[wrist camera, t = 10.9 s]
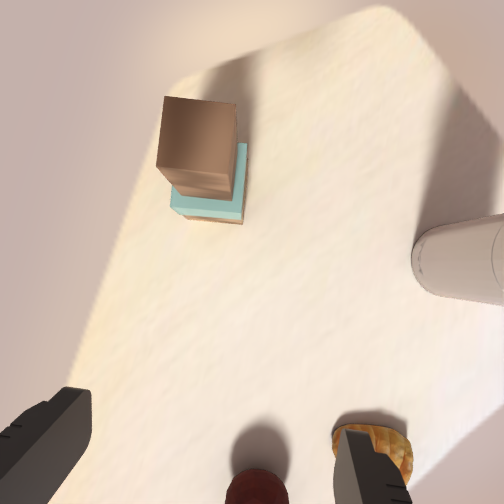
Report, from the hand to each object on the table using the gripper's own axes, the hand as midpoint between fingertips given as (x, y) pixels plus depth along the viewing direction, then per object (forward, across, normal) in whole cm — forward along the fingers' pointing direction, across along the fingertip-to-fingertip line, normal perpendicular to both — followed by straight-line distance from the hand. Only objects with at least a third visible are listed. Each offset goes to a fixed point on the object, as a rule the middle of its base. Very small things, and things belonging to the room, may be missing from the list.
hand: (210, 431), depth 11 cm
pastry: (+29, -16, +24) cm, 41 cm away
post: (+25, +6, -8) cm, 27 cm away
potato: (+26, -2, +30) cm, 40 cm away
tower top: (+30, +6, -6) cm, 31 cm away
